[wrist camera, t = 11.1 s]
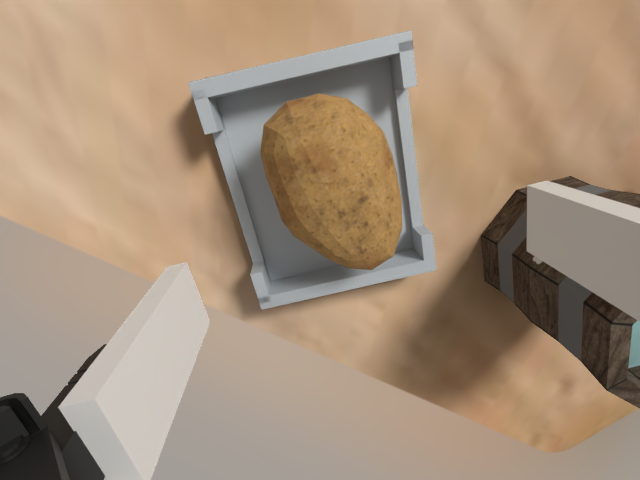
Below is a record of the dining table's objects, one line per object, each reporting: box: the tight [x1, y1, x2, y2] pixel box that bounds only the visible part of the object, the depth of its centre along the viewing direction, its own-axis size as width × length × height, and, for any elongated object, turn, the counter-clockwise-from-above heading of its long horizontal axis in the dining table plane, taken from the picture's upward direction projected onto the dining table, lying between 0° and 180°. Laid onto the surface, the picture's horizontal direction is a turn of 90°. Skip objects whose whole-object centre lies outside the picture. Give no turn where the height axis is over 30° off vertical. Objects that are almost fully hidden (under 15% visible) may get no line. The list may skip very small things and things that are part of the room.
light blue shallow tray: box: [188, 30, 436, 310], centre depth 30 cm, size 19×16×4 cm
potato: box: [260, 93, 402, 270], centre depth 27 cm, size 10×14×8 cm
